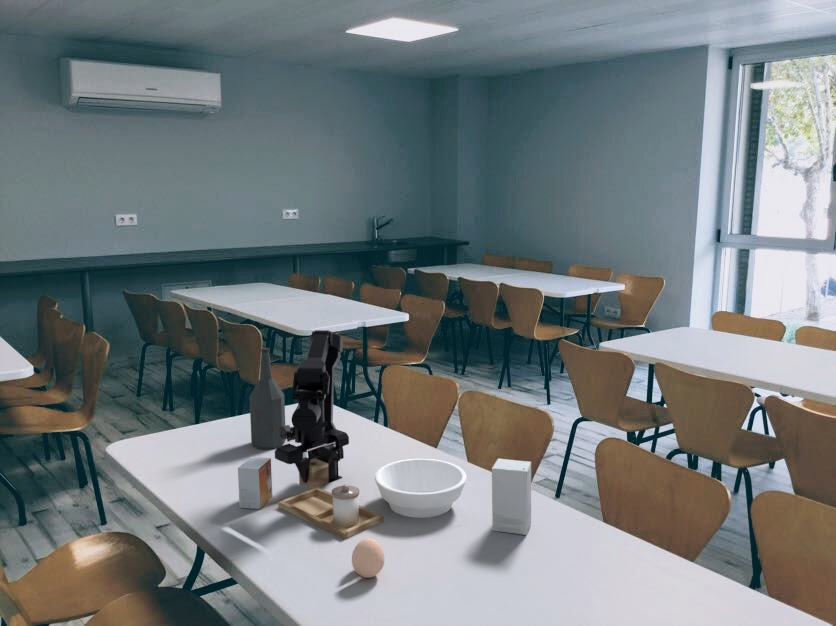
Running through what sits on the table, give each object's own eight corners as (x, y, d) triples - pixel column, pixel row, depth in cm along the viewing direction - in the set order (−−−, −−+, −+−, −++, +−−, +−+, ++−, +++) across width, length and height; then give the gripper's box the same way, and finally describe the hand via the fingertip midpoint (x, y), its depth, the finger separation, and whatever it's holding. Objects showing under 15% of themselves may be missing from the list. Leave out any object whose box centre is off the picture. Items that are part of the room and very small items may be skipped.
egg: (358, 587, 146) (357, 550, 144) (347, 571, 152) (347, 535, 150) (389, 580, 148) (389, 543, 147) (377, 564, 154) (377, 529, 153)
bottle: (259, 437, 231) (255, 344, 226) (289, 438, 230) (286, 345, 224) (247, 449, 221) (243, 351, 216) (278, 450, 220) (275, 352, 214)
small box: (260, 510, 180) (258, 469, 178) (239, 508, 181) (237, 467, 179) (273, 496, 188) (271, 457, 186) (252, 494, 189) (250, 455, 187)
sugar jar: (347, 512, 177) (346, 477, 175) (365, 521, 172) (364, 484, 171) (326, 521, 172) (325, 485, 170) (344, 530, 168) (344, 492, 166)
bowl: (479, 497, 187) (479, 466, 186) (444, 535, 167) (445, 501, 166) (399, 482, 197) (399, 453, 195) (358, 517, 176) (357, 484, 175)
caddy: (317, 495, 188) (317, 487, 188) (383, 524, 172) (383, 515, 172) (279, 510, 180) (278, 501, 179) (344, 542, 164) (344, 533, 163)
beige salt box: (315, 477, 182) (314, 457, 181) (328, 483, 179) (328, 462, 178) (299, 483, 179) (298, 463, 178) (312, 489, 175) (312, 468, 174)
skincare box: (531, 524, 172) (533, 461, 170) (526, 537, 166) (528, 471, 164) (496, 519, 175) (497, 456, 172) (490, 531, 169) (491, 467, 166)
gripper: (320, 402, 188) (322, 460, 191) (259, 419, 174) (262, 481, 177) (349, 411, 181) (351, 471, 183) (288, 430, 167) (290, 494, 170)
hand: (313, 479), depth 179 cm, fingers closed on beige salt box, 5 cm apart
